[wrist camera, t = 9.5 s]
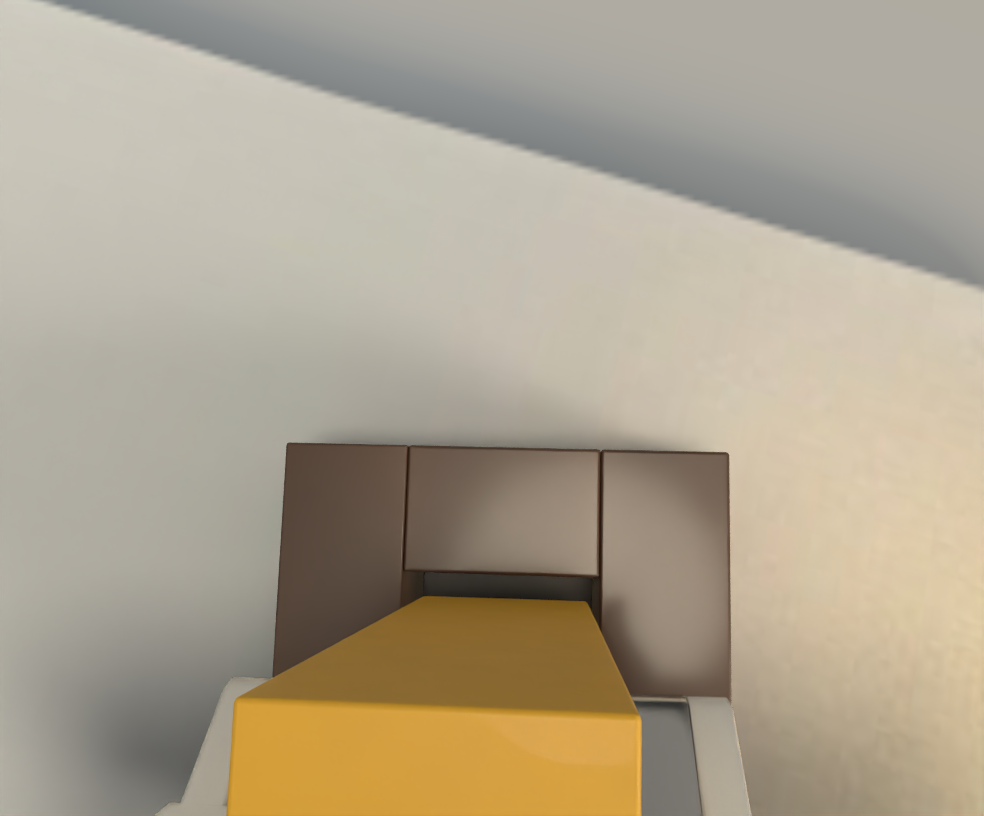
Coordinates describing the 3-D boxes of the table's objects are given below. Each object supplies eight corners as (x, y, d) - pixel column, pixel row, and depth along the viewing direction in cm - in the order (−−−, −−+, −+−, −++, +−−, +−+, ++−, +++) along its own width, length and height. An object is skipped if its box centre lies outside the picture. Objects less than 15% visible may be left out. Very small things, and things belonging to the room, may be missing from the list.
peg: (588, 601, 16) (643, 714, 6) (585, 776, 16) (640, 1183, 6) (422, 595, 17) (231, 696, 7) (415, 768, 16) (202, 1146, 6)
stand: (703, 463, 20) (730, 451, 17) (706, 874, 19) (734, 938, 16) (323, 454, 21) (286, 442, 18) (301, 851, 20) (257, 909, 17)
